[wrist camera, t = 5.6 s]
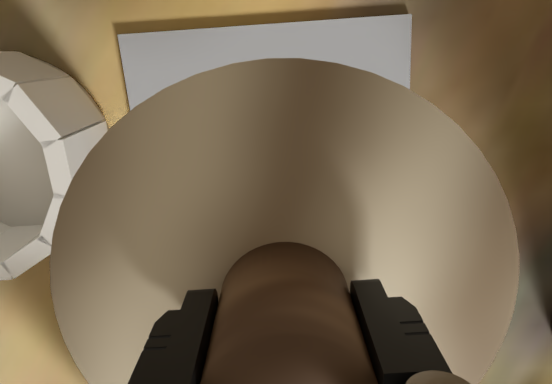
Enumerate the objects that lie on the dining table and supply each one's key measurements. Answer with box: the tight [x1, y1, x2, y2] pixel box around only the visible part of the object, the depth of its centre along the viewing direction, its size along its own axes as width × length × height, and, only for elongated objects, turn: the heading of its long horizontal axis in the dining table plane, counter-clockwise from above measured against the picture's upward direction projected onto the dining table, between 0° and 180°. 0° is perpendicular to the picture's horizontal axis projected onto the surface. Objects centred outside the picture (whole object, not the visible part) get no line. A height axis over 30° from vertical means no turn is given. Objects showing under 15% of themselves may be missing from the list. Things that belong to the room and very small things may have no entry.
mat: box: [118, 14, 412, 111], centre depth 26 cm, size 16×16×1 cm
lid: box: [50, 58, 519, 384], centre depth 11 cm, size 13×13×5 cm
